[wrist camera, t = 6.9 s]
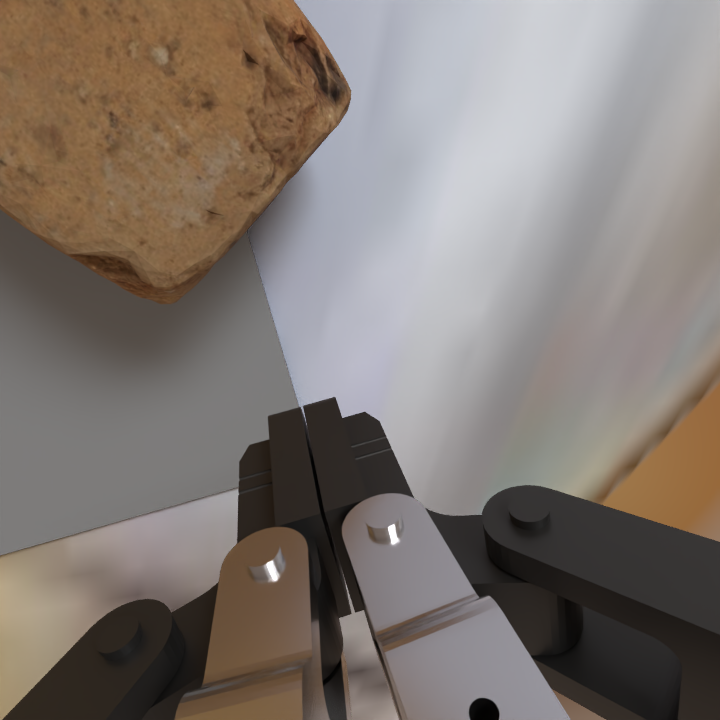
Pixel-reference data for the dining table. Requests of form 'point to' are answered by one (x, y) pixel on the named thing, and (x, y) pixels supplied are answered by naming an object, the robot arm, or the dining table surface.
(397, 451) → the dining table surface
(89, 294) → the mat
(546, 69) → the dining table surface
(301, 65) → the sandstone rock
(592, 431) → the dining table surface
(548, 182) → the dining table surface
